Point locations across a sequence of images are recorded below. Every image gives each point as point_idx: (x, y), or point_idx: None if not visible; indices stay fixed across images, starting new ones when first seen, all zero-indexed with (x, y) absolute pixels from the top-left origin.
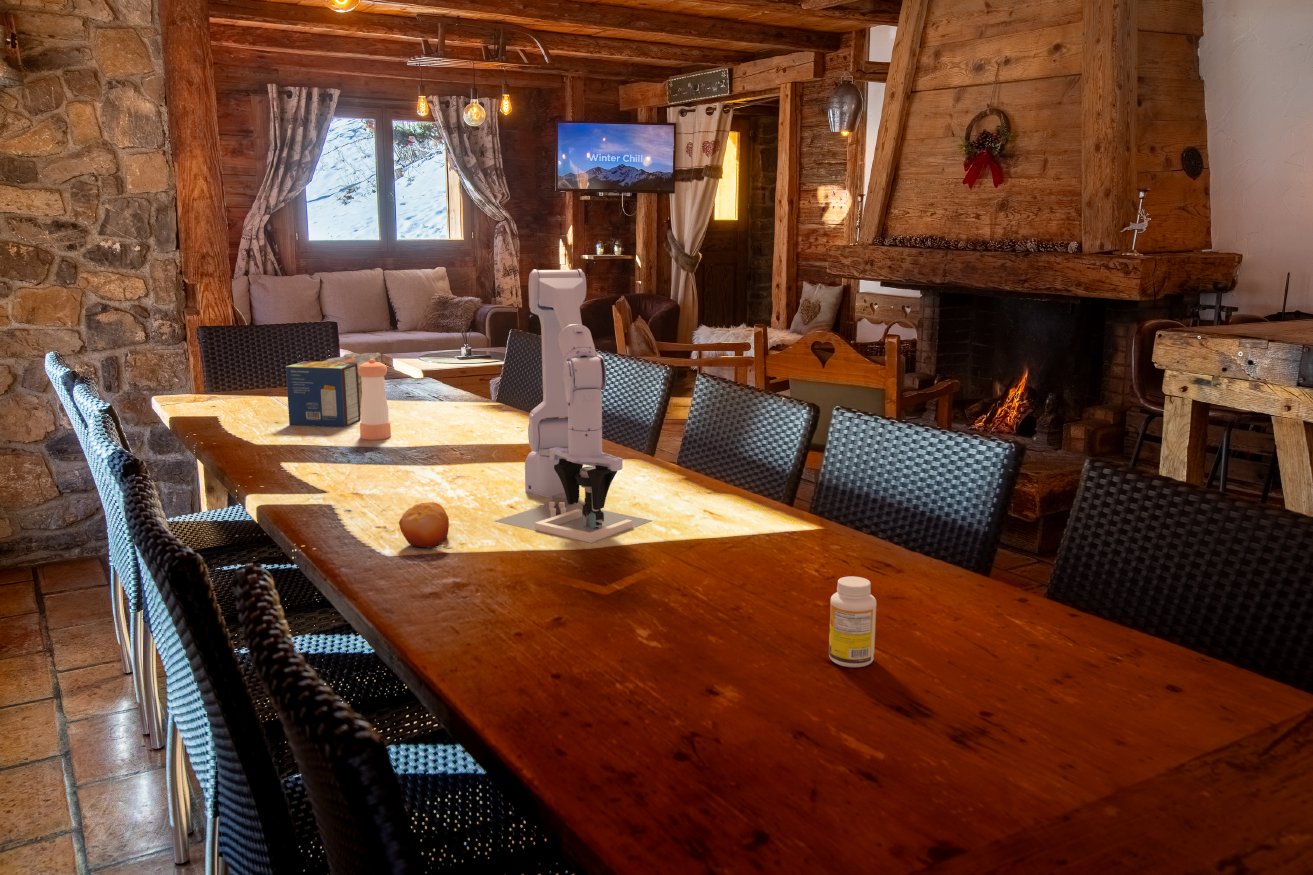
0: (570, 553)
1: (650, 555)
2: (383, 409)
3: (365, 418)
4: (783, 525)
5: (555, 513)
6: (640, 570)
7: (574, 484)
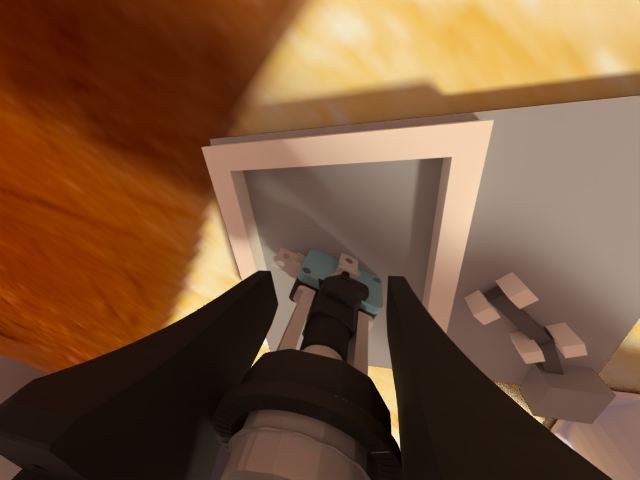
0: (222, 52)
1: (116, 199)
2: None
3: None
4: None
5: (502, 287)
6: (19, 91)
7: (399, 376)
